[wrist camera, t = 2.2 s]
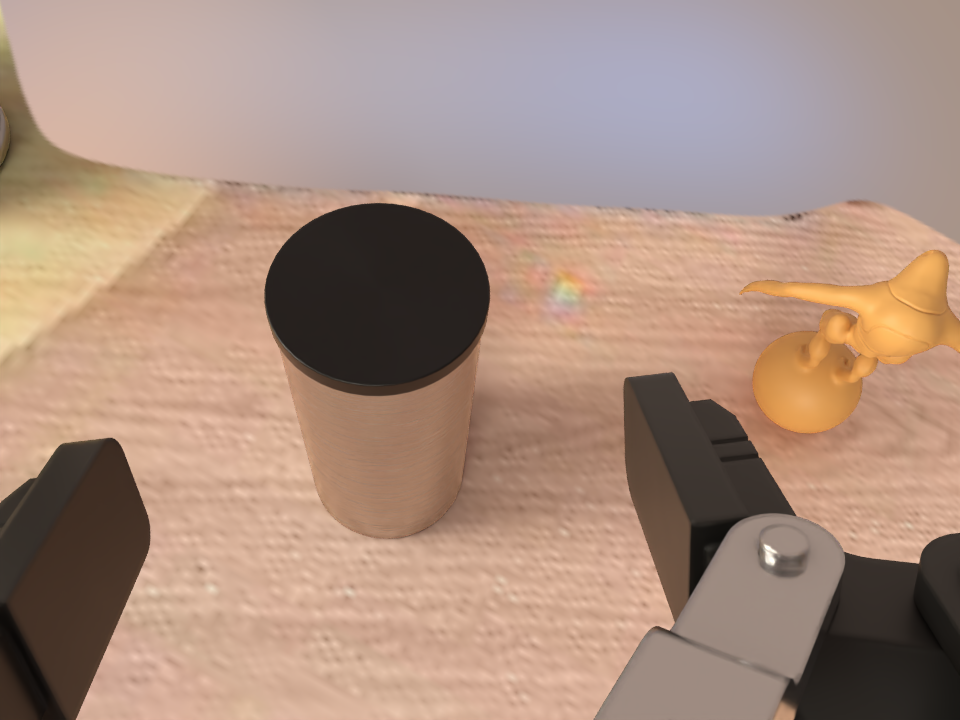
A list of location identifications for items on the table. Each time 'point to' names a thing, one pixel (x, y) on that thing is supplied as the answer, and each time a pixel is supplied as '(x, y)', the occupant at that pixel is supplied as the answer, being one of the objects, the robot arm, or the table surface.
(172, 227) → the table surface
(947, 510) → the table surface
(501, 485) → the table surface
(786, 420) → the figurine
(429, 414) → the canister
